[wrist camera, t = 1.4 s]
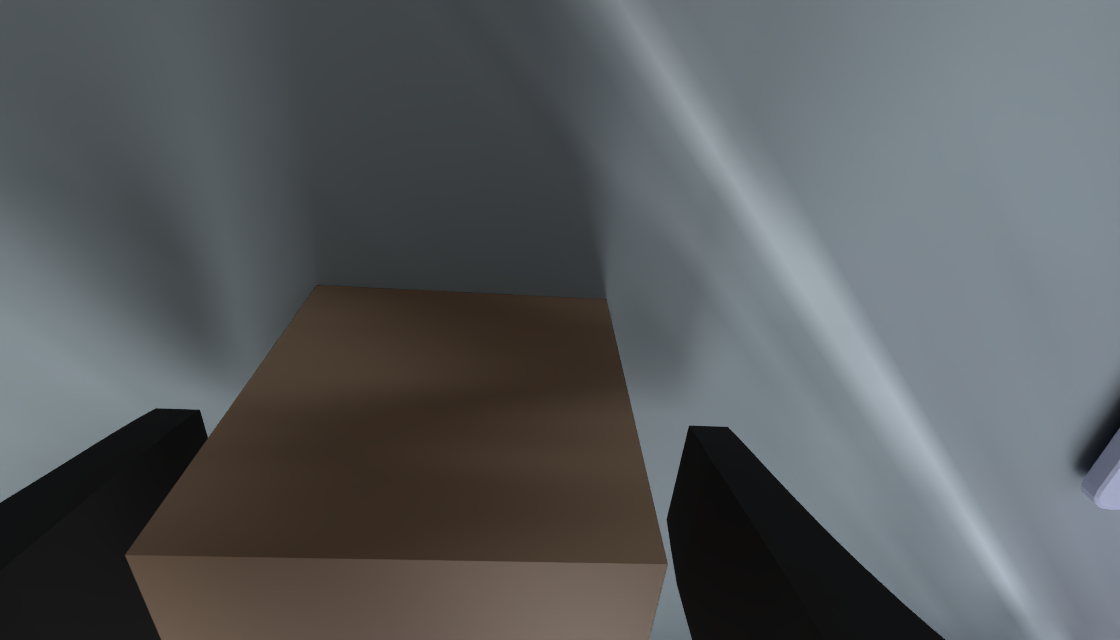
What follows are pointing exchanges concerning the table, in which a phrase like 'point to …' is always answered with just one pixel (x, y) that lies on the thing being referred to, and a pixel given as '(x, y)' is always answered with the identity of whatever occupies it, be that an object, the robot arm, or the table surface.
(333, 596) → the walnut block
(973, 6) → the table surface
